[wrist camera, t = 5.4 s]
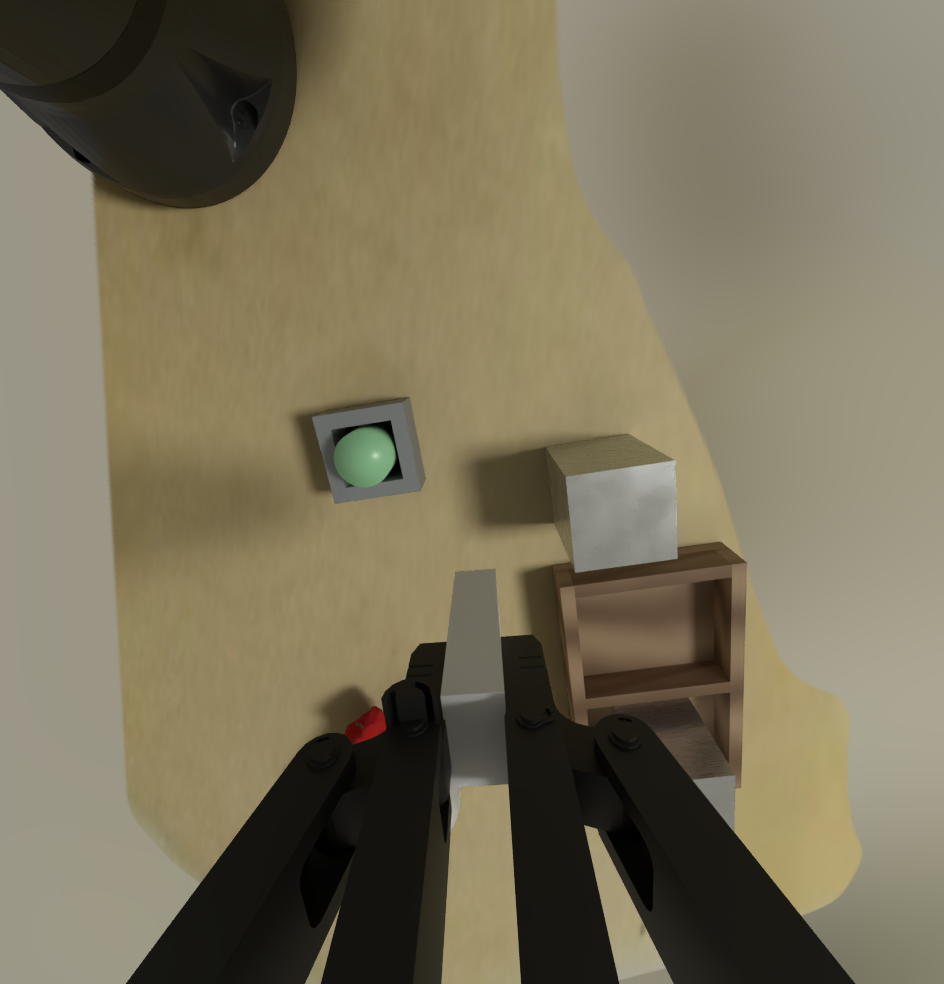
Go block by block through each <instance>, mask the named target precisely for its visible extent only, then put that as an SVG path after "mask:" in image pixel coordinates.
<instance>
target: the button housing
mask: <svg viewBox="0 0 944 984" xmlns="http://www.w3.org/2000/svg"><path fill="white" fill-rule="evenodd" d="M312 420H313V423H314V427H315V431H316V435H317V438H318V442H319V446H320V450H321V453H322V457H323V461H324V465H325V468H326V472H327V476H328V480H329V483H330V487H331V491H332V495H333V498H334V502H335V504H337V503H343V502H350V501H357V500H363V499H370V498H377V497H383V496H390V495H396V494H403V493H410V492H416V491H421V489H422V487H423V484H424V481H425V479H426V478H425V473H424V468H423V463H422V458H421V453H420V448H419V443H418V438H417V433H416V428H415V423H414V418H413V413H412V407H411V402H410V397H408V398H402V399H396V400H390V401H384V402H377V403H371V404H365V405H359V406H353V407H347V408H341V409H335V410H328V411H325V412H323V413H320V414H318V415H315V416H313V417H312ZM389 420H391V424H392V428H393V433H394V438H395V442H396V447H397V452H398V456H399V461H400V466H401V469H398V470H392V471H390V472H389V473H388V475H387V476H386V477H385V478H384V480H382V481H381V482H380V483H379V484H377V485H374V486H371V487H357V486H354V485H352V484H350V483H348V482H346V481H345V480H344V479H343V478H342V477H341V476H340V475H339V473H338V472H337V470H336V467H335V464H334V451H335V448H336V446H337V444H338V442H339V441H340V440H341V439H342V438H343V437H345V436H346V435H347V434H346V430H345V427H351V426H358V425H364V424H370V423H376V422H383V421H389Z"/></svg>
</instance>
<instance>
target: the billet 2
mask: <svg viewBox="0 0 944 984" xmlns="http://www.w3.org/2000/svg"><path fill="white" fill-rule="evenodd" d="M612 714H625V715H630V716H633V717H636V718H638V719H640V720H642V721H643V722H645V723H646V724H647V725H648V726H649V727H650V728H651V729H652V730H653V731H654V732H655V734H656V735H657V736H658V737H659V739H660V740H661V741H662V742H663V744H664V745H665V746H666V747H667V749H668V750H669V751H670V752H671V754H672V755H673V756H674V757H675V759H676V760H677V761H678V763H679V764H680V765H681V766H682V768H683V769H684V770H685V771H686V773H687V774H688V775H689V776H690V778H691V779H692V780H693V781H694V783H695V784H696V785H697V786H698V788H699V789H700V790H701V791H702V793H703V794H704V795H705V796H706V798H707V799H708V800H709V801H710V803H711V804H712V805H713V806H714V808H715V809H716V810H717V811H718V813H719V814H720V815H721V816H722V818H723V819H724V820H725V821H726V823H727V824H728V825H729V826H730V828H731V829H732V830H733V831H734V823H735V776H736V775H735V773H734V772H733V770H732V769H731V767H730V765H729V764H728V762H727V760H726V759H725V757H724V755H723V754H722V752H721V750H720V749H719V747H718V745H717V744H716V742H715V740H714V739H713V737H712V735H711V734H710V732H709V730H708V729H707V727H706V725H705V724H704V722H703V720H702V719H701V717H700V715H699V714H698V712H697V710H696V709H695V707H694V705H693V704H692V702H691V700H690V699H689V697H687V698H679V699H670V700H662V701H654V702H645V703H637V704H628V705H620V706H612Z"/></svg>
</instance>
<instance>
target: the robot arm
mask: <svg viewBox="0 0 944 984" xmlns="http://www.w3.org/2000/svg"><path fill="white" fill-rule="evenodd" d="M296 80H297V70H296V53H295V46H294V39H293V34H292V29H291V25H290V21H289V17H288V14H287V11H286V7H285V4H284V2H283V0H0V89H1V90H2V91H3V92H4V93H5V94H6V95H7V96H8V97H9V98H10V99H11V100H12V101H13V102H14V103H15V104H16V105H17V106H18V107H20V109H22V110H23V111H24V112H25V113H26V114H27V115H28V116H29V117H30V118H31V119H32V120H33V121H35V122H36V123H37V124H39V125H40V126H41V127H42V128H43V129H44V130H45V131H46V132H47V134H48V135H49V136H50V137H51V138H52V139H53V140H54V141H55V142H56V143H57V144H58V145H59V146H60V147H61V148H62V149H63V150H65V151H66V152H67V153H68V154H69V155H70V156H71V157H72V158H74V159H75V160H76V161H77V162H79V163H80V164H81V165H83V166H84V167H85V168H87V169H88V170H90V171H91V172H93V173H94V174H96V175H97V176H99V177H100V178H102V179H104V180H106V181H107V182H109V183H111V184H113V185H115V186H117V187H120V188H122V189H124V190H126V191H129V192H131V193H133V194H135V195H137V196H140V197H142V198H144V199H147V200H150V201H152V202H155V203H159V204H163V205H168V206H173V207H183V208H194V207H204V206H210V205H214V204H218V203H221V202H223V201H226V200H228V199H231V198H233V197H235V196H236V195H238V194H240V193H242V192H243V191H244V190H246V189H247V188H249V187H250V186H251V185H252V184H253V183H255V182H256V181H257V180H258V179H259V178H260V177H261V176H262V175H263V173H264V172H265V171H266V170H267V169H268V167H269V166H270V165H271V163H272V162H273V160H274V159H275V157H276V155H277V154H278V152H279V150H280V148H281V146H282V144H283V142H284V139H285V137H286V134H287V131H288V128H289V125H290V122H291V118H292V114H293V108H294V103H295V95H296ZM381 700H382V706H383V711H384V717H385V723H386V730H385V731H384V732H382V733H381V734H379V735H377V736H375V737H373V738H370V739H368V740H365V741H362V742H359V743H356V744H353V745H352V742H351V740H350V739H349V738H348V737H347V736H345V735H343V734H340V733H328V734H324V735H321V736H318V737H316V738H314V739H313V740H311V741H309V742H308V743H306V744H305V745H304V746H303V747H302V748H301V749H300V750H299V751H298V753H297V754H296V755H295V757H294V758H293V759H292V761H291V762H290V763H289V765H288V766H287V768H286V769H285V770H284V772H283V773H282V774H281V776H280V777H279V778H278V780H277V781H276V782H275V784H274V785H273V786H272V788H271V789H270V790H269V792H268V793H267V794H266V796H265V797H264V799H263V800H262V801H261V803H260V804H259V805H258V807H257V808H256V809H255V811H254V812H253V813H252V815H251V816H250V817H249V819H248V820H247V821H246V823H245V824H244V825H243V827H242V828H241V829H240V831H239V832H238V834H237V835H236V836H235V838H234V839H233V840H232V842H231V843H230V844H229V846H228V847H227V848H226V850H225V851H224V852H223V854H222V855H221V856H220V858H219V859H218V860H217V862H216V863H215V864H214V866H213V867H212V869H211V870H210V871H209V873H208V874H207V875H206V877H205V878H204V879H203V881H202V882H201V883H200V885H199V886H198V888H197V889H196V890H195V891H194V893H193V894H192V895H191V897H190V898H189V899H188V901H187V902H186V904H185V905H184V906H183V908H182V909H181V910H180V912H179V913H178V914H177V916H176V917H175V918H174V920H173V921H172V922H171V924H170V925H169V926H168V928H167V929H166V930H165V932H164V933H163V934H162V936H161V937H160V939H159V940H158V941H157V943H156V944H155V946H154V947H153V948H152V949H151V951H150V952H149V953H148V955H147V956H146V957H145V959H144V960H143V961H142V963H141V964H140V965H139V967H138V968H137V970H136V971H135V972H134V974H133V975H132V976H131V978H130V979H129V980H128V982H127V983H126V984H305V982H306V980H307V978H308V976H309V973H310V971H311V969H312V967H313V965H314V963H315V960H316V958H317V956H318V954H319V952H320V950H321V947H322V945H323V943H324V941H325V939H326V936H327V934H328V932H329V930H330V928H331V926H332V923H333V921H334V919H335V917H336V915H337V913H338V910H339V908H340V911H339V915H338V919H337V922H336V926H335V930H334V934H333V938H332V942H331V946H330V950H329V954H328V958H327V962H326V966H325V970H324V973H323V977H322V981H321V984H441V979H442V963H443V946H444V930H445V913H446V897H447V880H448V864H449V848H450V831H451V815H452V805H451V798H450V781H451V780H452V787H463V786H481V785H499V784H509V800H510V816H511V832H512V847H513V863H514V879H515V894H516V910H517V926H518V941H519V957H520V973H521V984H619V981H618V976H617V972H616V967H615V963H614V958H613V954H612V949H611V945H610V940H609V936H608V931H607V926H606V922H605V917H604V913H603V908H602V904H601V899H600V895H599V890H598V886H597V881H596V877H595V872H594V868H593V863H592V859H591V854H590V850H589V845H588V841H587V836H586V832H585V827H584V825H586V826H590V827H593V828H597V829H598V832H599V835H600V837H601V839H602V841H603V843H604V845H605V847H606V849H607V851H608V853H609V855H610V857H611V859H612V861H613V863H614V865H615V867H616V869H617V871H618V873H619V875H620V877H621V879H622V881H623V883H624V885H625V887H626V889H627V891H628V893H629V895H630V897H631V899H632V901H633V903H634V905H635V907H636V909H637V911H638V913H639V915H640V917H641V919H642V921H643V923H644V925H645V927H646V929H647V931H648V933H649V935H650V937H651V939H652V941H653V943H654V945H655V947H656V949H657V951H658V953H659V955H660V957H661V959H662V961H663V963H664V965H665V967H666V969H667V971H668V973H669V975H670V977H671V979H672V981H673V983H674V984H855V983H854V982H853V980H852V979H851V978H850V977H849V975H848V974H847V973H846V972H845V970H844V969H843V968H842V967H841V965H840V964H839V963H838V962H837V960H836V959H835V958H834V957H833V955H832V954H831V953H830V952H829V951H828V949H827V948H826V947H825V945H824V944H823V943H822V942H821V940H820V939H819V938H818V937H817V935H816V934H815V933H814V932H813V930H812V929H811V928H810V927H809V925H808V924H807V923H806V922H805V920H804V919H803V918H802V917H801V915H800V914H799V913H798V912H797V910H796V909H795V908H794V907H793V905H792V904H791V903H790V901H789V900H788V899H787V898H786V896H785V895H784V894H783V893H782V891H781V890H780V889H779V888H778V886H777V885H776V884H775V883H774V881H773V880H772V879H771V878H770V876H769V875H768V874H767V873H766V871H765V870H764V869H763V868H762V866H761V865H760V864H759V863H758V861H757V860H756V859H755V858H754V856H753V855H752V854H751V853H750V851H749V850H748V849H747V848H746V846H745V845H744V844H743V843H742V841H741V840H740V839H739V838H738V836H737V835H736V834H735V833H734V831H733V830H732V829H731V828H730V826H729V825H728V824H727V823H726V821H725V820H724V819H723V818H722V816H721V815H720V814H719V813H718V811H717V810H716V809H715V808H714V806H713V805H712V804H711V803H710V801H709V800H708V799H707V798H706V796H705V795H704V794H703V793H702V791H701V790H700V789H699V788H698V786H697V785H696V784H695V783H694V781H693V780H692V779H691V778H690V776H689V775H688V774H687V773H686V771H685V770H684V769H683V768H682V766H681V765H680V764H679V763H678V761H677V760H676V759H675V757H674V756H673V755H672V754H671V752H670V751H669V750H668V749H667V747H666V746H665V745H664V744H663V742H662V741H661V740H660V739H659V737H658V736H657V735H656V734H655V732H654V731H653V730H652V729H651V728H650V727H649V726H648V725H647V724H646V723H645V722H643V721H642V720H640V719H638V718H636V717H633V716H630V715H625V714H612V715H608V716H606V717H604V718H602V719H600V720H599V722H598V723H597V724H596V725H595V727H591V726H586V725H582V724H578V723H575V722H573V721H571V720H569V719H567V718H565V717H564V716H563V715H562V714H560V712H559V711H558V710H557V708H556V707H555V704H554V701H553V696H552V692H551V687H550V683H549V678H548V673H547V669H546V664H545V660H544V655H543V650H542V646H541V643H540V642H539V641H538V640H537V639H536V638H535V637H534V636H533V635H521V636H507V637H501V630H500V618H499V607H498V595H497V583H496V571H495V569H486V570H473V571H460V572H455V579H454V587H453V595H452V604H451V612H450V620H449V629H448V637H447V642H437V643H423V644H420V645H419V646H418V647H417V648H416V649H415V651H414V652H413V653H412V654H411V658H410V662H409V668H408V671H407V675H406V679H405V680H402V681H400V682H398V683H395V684H393V685H392V686H391V687H390V688H389V689H387V690H386V691H385V693H384V695H383V697H382V698H381ZM340 906H341V907H340Z"/></svg>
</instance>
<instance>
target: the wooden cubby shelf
mask: <svg viewBox="0 0 944 984" xmlns="http://www.w3.org/2000/svg"><path fill="white" fill-rule="evenodd" d="M677 554H678V559H672V560H665V561H658V562H650V563H643V564H636V565H628V566H621V567H614V568H606V569H599V570H592V571H584V572H577V573H575V571H574V569H573V566H572V564H571V563H565V564H558V565H552V567H553V576H554V584H555V593H556V601H557V610H558V618H559V627H560V635H561V644H562V652H563V661H564V669H565V678H566V686H567V695H568V703H569V712H570V720H571V721H573V722H575V723H578V724H582V725H586V726H591V727H595V725H596V724H597V723H598V722H599V720H600V719H602V718H604V717H606V716H608V715H612V706H620V705H628V704H637V703H645V702H654V701H662V700H670V699H679V698H687V697H689V699H690V700H691V702H692V704H693V705H694V707H695V709H696V710H697V712H698V714H699V715H700V717H701V719H702V720H703V722H704V724H705V725H706V727H707V729H708V730H709V732H710V734H711V735H712V737H713V739H714V740H715V742H716V744H717V745H718V747H719V749H720V750H721V752H722V754H723V755H724V757H725V759H726V760H727V762H728V764H729V765H730V767H731V769H732V770H733V772H734V773H735V775H736V776H735V789H736V788H741V768H742V730H743V692H744V654H745V616H746V578H747V562H745V561H744V560H743V559H742V558H740V557H739V556H738V555H737V554H735V553H734V552H733V551H732V550H730V549H729V548H728V547H727V546H725V545H724V544H723V543H722V542H718V543H710V544H703V545H696V546H689V547H681V548H677Z"/></svg>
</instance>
